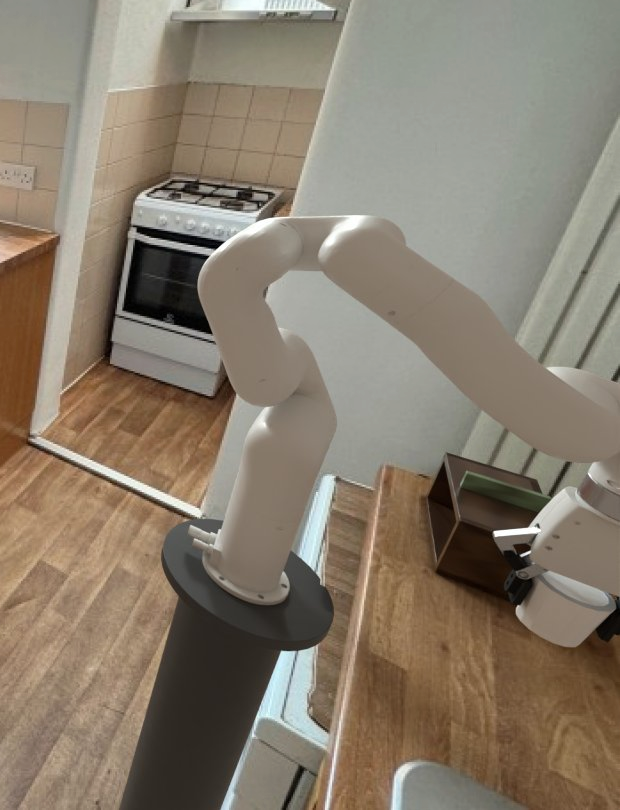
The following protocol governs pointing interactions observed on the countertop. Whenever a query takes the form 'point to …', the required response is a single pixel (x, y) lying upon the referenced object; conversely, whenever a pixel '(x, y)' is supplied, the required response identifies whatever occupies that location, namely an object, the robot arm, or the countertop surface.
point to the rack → (478, 519)
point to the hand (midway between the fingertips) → (555, 613)
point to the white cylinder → (563, 609)
